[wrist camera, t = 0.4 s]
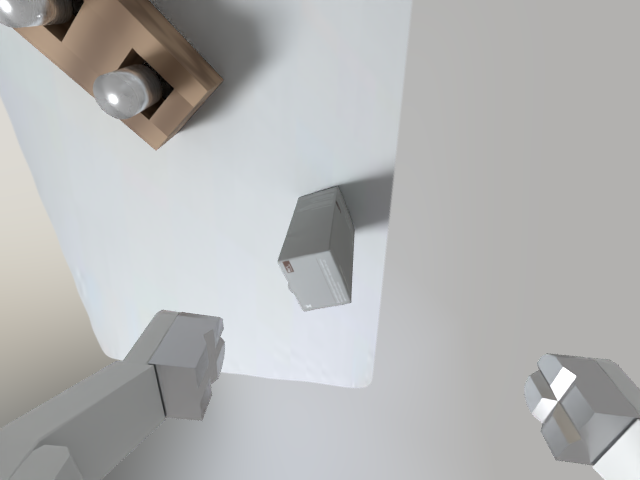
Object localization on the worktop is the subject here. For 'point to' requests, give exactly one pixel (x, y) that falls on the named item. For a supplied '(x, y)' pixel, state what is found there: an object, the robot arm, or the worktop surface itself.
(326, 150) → the worktop surface
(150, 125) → the walnut block
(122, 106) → the steel peg
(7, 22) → the steel peg
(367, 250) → the worktop surface
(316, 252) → the skincare box
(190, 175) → the worktop surface
